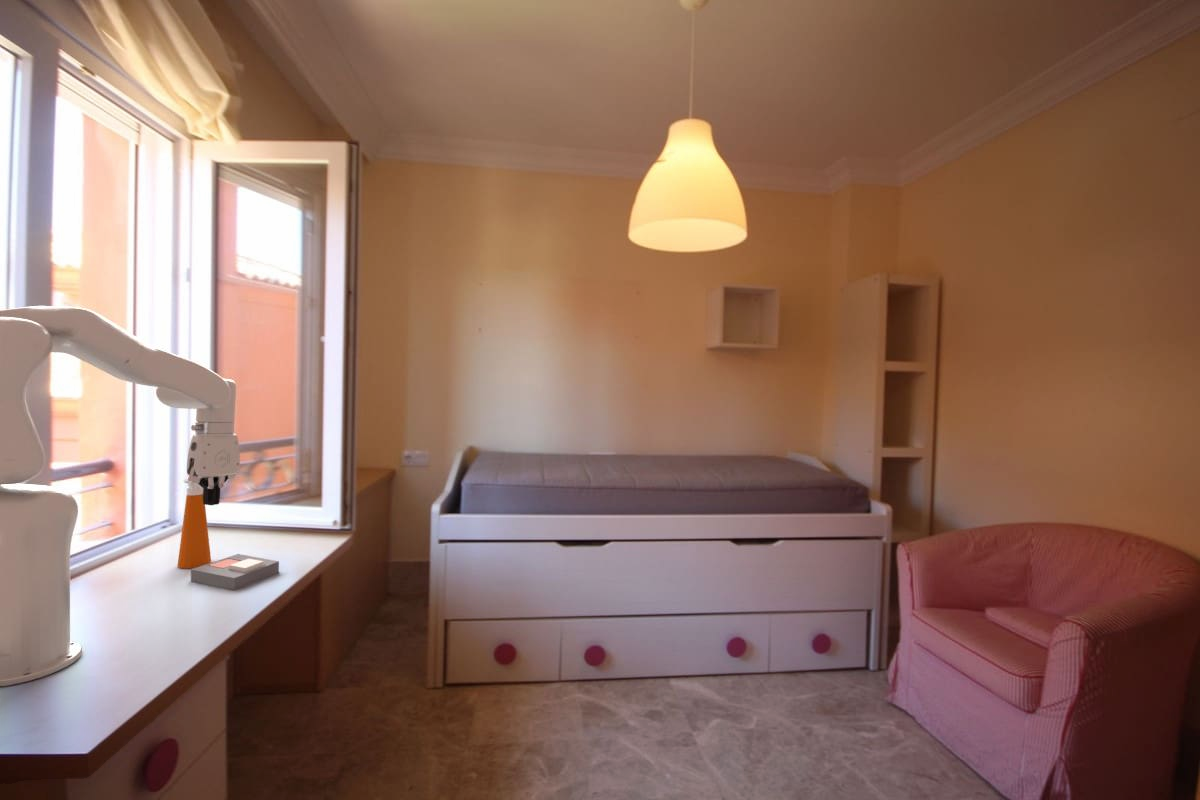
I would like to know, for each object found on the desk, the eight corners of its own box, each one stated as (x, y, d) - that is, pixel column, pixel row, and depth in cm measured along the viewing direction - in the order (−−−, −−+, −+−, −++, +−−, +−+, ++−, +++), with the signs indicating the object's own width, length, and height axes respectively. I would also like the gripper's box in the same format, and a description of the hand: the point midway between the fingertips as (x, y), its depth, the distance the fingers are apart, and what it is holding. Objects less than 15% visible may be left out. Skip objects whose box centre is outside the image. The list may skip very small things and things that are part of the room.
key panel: (234, 590, 122) (234, 578, 122) (190, 581, 126) (191, 569, 126) (278, 572, 133) (278, 561, 133) (237, 564, 137) (237, 553, 137)
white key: (245, 577, 125) (245, 568, 125) (229, 574, 127) (229, 565, 127) (263, 570, 130) (263, 561, 130) (248, 567, 132) (248, 558, 131)
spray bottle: (227, 555, 144) (228, 462, 143) (198, 569, 133) (199, 469, 132) (201, 554, 144) (202, 461, 143) (170, 568, 133) (171, 468, 132)
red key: (223, 577, 127) (223, 568, 127) (208, 574, 129) (208, 565, 129) (242, 570, 132) (242, 561, 132) (227, 567, 134) (228, 558, 133)
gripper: (194, 431, 117) (190, 511, 116) (255, 428, 131) (251, 500, 131) (170, 429, 119) (166, 508, 119) (232, 427, 133) (229, 497, 133)
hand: (211, 504), depth 125 cm, fingers closed
